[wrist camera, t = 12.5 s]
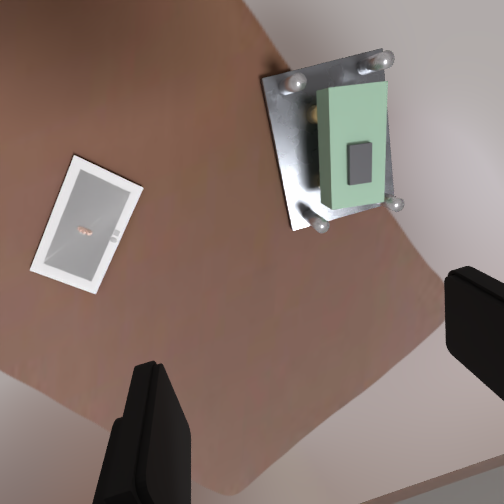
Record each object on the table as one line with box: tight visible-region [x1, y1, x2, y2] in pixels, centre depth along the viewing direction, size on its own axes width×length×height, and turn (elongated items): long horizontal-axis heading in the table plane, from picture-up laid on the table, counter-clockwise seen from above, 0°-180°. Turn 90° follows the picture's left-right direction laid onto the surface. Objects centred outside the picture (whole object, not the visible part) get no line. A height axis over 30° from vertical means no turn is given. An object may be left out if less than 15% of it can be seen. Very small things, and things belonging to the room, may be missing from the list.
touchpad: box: [30, 155, 143, 294], centre depth 40 cm, size 8×15×2 cm, turn 151°
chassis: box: [261, 48, 404, 233], centre depth 39 cm, size 18×14×6 cm
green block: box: [316, 81, 388, 210], centre depth 37 cm, size 12×6×4 cm, turn 6°
